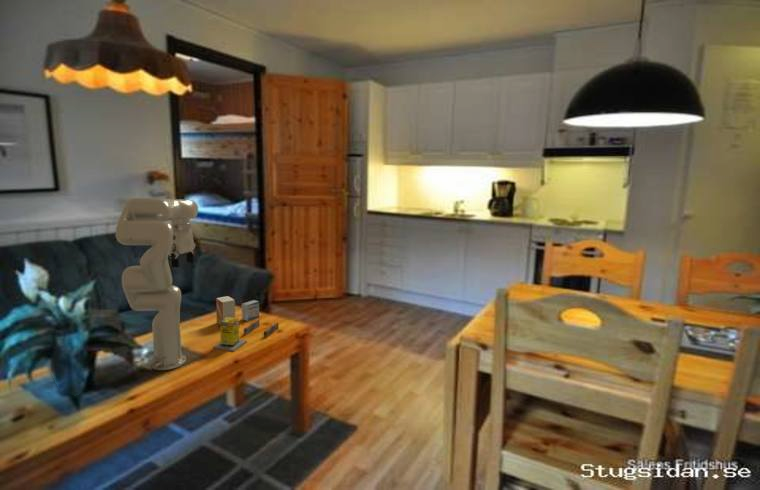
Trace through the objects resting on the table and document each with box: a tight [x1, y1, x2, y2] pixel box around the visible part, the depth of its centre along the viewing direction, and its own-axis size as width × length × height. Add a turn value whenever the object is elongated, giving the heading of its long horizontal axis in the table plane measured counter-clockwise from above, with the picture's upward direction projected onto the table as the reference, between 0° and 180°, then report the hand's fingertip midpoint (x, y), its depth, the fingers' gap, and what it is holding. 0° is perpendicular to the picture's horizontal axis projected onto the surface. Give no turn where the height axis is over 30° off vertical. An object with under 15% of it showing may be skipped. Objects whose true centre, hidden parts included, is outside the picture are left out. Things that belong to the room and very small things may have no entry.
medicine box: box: [241, 299, 260, 322], centre depth 213 cm, size 8×4×9 cm, turn 150°
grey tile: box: [212, 339, 248, 352], centre depth 181 cm, size 10×10×1 cm
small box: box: [215, 295, 236, 326], centre depth 203 cm, size 8×6×13 cm
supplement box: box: [219, 317, 240, 347], centre depth 180 cm, size 6×6×11 cm
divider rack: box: [243, 319, 279, 339], centre depth 197 cm, size 12×11×3 cm
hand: (182, 264), depth 187 cm, fingers open, 9 cm apart
